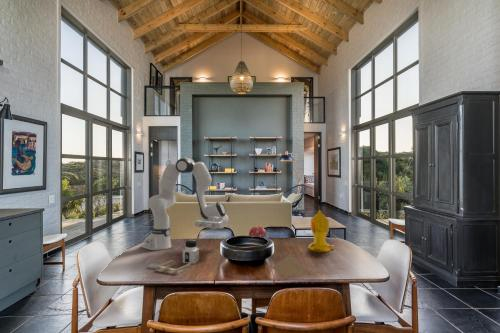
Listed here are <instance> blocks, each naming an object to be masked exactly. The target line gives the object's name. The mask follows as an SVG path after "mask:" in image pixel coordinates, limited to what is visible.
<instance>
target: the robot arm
mask: <svg viewBox="0 0 500 333" xmlns="http://www.w3.org/2000/svg"><path fill="white" fill-rule="evenodd" d="M189 173H192V175H193V176H194V178H195V179H194V180H195V182H196V187H195V194H196V197H197V202H198V207H199V213H200V216H201V218H202V219H198V220H195V221H194V226H195V227H197V228H209V229H210V230H216V229H217V230H218V229H224V228H225V226H226V225H227V224H228V223H229V221H230V219H229V216H228V214H227V213H226V208H225V207H226V206H224V204H223V202H220V201H216V202H214V203H211V204H208V205H207V202H206V198H205V192H206V191H207V190H208V188H210V186H211V184H212V181H213V179H212V176H211V174H210V172H209V169H208V167H207V166H206V164H205V163H204V162H203V161H198V162H197V161H195V160H194V159H193V158H192V157H189V156H188V157H186V156H184V157H182V158H179V159H178V160H176V162H168V163H167V164H166V166H165V168H164V171H163V173H162V176H161V179H160V182H159V187H160V193H159V194H154V195H153V196H151V197H149V198H148V201H147V206H148V208H149V209H150V211H151V212H152V216H153V228H151V229H150V232H151V233H150V234H149V235H148V236H147V237H145V239H144V243H143V244H141V245H140V248H142V249H147V250H150V251H159V250H167V249H170V248H171V247H172V242H171V235H170V234H171V227H170V216H169V215H168V212H167V209H170V208H171V207H172V206H174V205H175V202H176V198H175V188H176V185H177V182H178V179H179V175H180V174H189Z"/></svg>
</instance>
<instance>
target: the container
mask: <svg viewBox="0 0 500 333" xmlns="http://www.w3.org/2000/svg"><path fill="white" fill-rule="evenodd" d="M199 260H200V248H199V247H197V240H194V239H189V240H186V241H185V249H183V250H182V263H183V264H189V263H191V265H192V264H193V265H194V264H196V263H197V262H199Z"/></svg>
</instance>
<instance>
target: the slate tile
mask: <svg viewBox="0 0 500 333" xmlns="http://www.w3.org/2000/svg"><path fill="white" fill-rule="evenodd" d="M159 265H161V263H151V264H149V265H148V266H146V267H145V268H146V269H147V270H157V266H159Z"/></svg>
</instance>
